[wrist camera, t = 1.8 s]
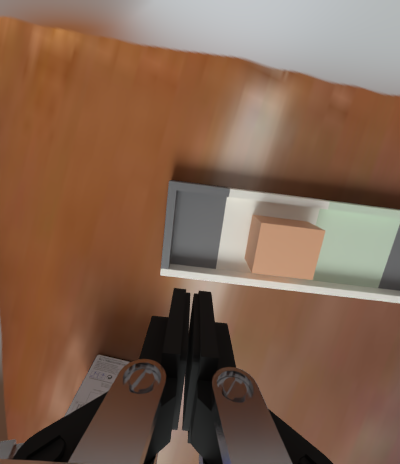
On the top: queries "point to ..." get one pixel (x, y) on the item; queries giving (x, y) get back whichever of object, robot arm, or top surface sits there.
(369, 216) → the track
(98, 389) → the ink cartridge box
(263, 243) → the terracotta block
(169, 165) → the top surface
